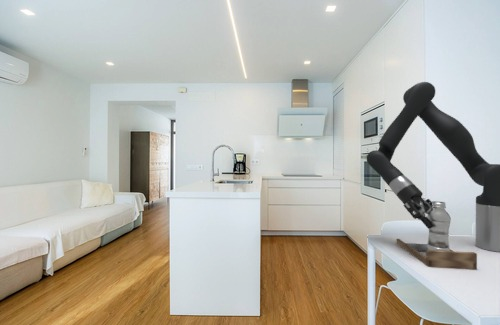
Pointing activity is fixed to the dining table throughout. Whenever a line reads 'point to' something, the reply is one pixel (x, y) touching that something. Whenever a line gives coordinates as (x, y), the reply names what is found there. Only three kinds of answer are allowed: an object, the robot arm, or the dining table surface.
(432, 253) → the wooden tray frame
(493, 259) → the dining table surface
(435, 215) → the plastic bottle
